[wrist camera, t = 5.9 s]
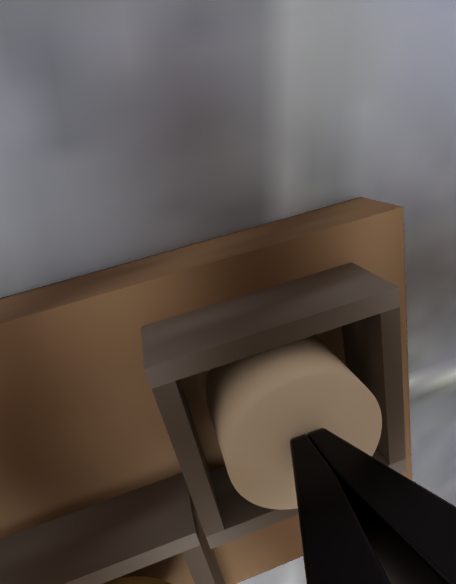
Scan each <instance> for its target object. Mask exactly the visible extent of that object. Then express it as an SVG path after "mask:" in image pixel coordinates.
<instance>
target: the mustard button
mask: <svg viewBox="0 0 456 584" xmlns="http://www.w3.org/2000/svg"><path fill="white" fill-rule="evenodd" d="M103 584H171V583H169V582H167V581H164V580H162V579H158V578H153V577H145V576H132V577H123V578H117V579H113V580H111V581H108V582H106V583H103Z"/></svg>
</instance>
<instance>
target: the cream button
mask: <svg viewBox="0 0 456 584" xmlns="http://www.w3.org/2000/svg"><path fill="white" fill-rule="evenodd" d="M205 394H206V402H207V407H208V410H209V413H210V417H211V420H212V423H213V426H214V429H215V433H216V436H217V439H218V442H219V446H220V449H221V452H222V455H223V459H224V462H225V465H226V468H227V472H228V475H229V478H230V480H231V483H232V484H233V486H234V488H235V489H236V490H237V492H238V493H239V494H240V495H241V496H242V497H244V498H245V499H246V500H248V501H249V502H251V503H253V504H255V505H258V506H261V507H264V508H269V509H278V510H286V509H296V508H298V506H297V498H296V490H295V482H294V473H293V465H292V457H291V449H290V440H291V439H292V438H295V437H298V436H300V435H303V434H305V435H307V434H308V433H309V432H311V431H314V430H317V429H319V428H325V429H327V430H328V431H330V432H332V433H333V434H335V435H337V436H338V437H340V438H342V439H343V440H345V441H347V442H348V443H350V444H352V445H353V446H355V447H357V448H358V449H360V450H362V451H363V452H365V453H367V454H368V455H370V456H373V454H374V452H375V450H376V448H377V445H378V443H379V439H380V436H381V430H382V415H381V410H380V407H379V404H378V402H377V400H376V398H375V396H374V395H373V394H372V393H371V391H370V390H369V389H368V388H367V387H366V386H365V385H364V384H363V383H362V382H361V381H360V380H359V379H358V378H357V377H356V376H355V375H354V374H353V373H352V372H351V371H350V370H349V369H348V368H347V367H346V366H345V365H344V364H343V363H342V362H341V361H340V360H339V359H338V358H337V357H336V356H335V355H334V354H333V352H332V351H331V350H330V349H329V348H328V347H327V346H326V345H325V344H324V343H323V342H322V341H321V340H320V339H319V338H318V337H316V336H315V335H313V336H310V337H307V338H304V339H301V340H298V341H295V342H292V343H289V344H286V345H283V346H280V347H277V348H274V349H271V350H268V351H265V352H262V353H259V354H256V355H253V356H250V357H247V358H244V359H241V360H238V361H235V362H232V363H228V364H225V365H222V366H219V367H216V368H213V369H211V370H210V372H209V375H208V378H207V382H206V390H205Z"/></svg>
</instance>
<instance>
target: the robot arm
mask: <svg viewBox="0 0 456 584" xmlns="http://www.w3.org/2000/svg"><path fill="white" fill-rule="evenodd" d="M290 449H291V457H292V465H293V473H294V482H295V490H296V498H297V506H298V514H299V523H300V531H301V539H302V547H303V556H304V564H305V572H306V580H307V584H456V507H455V506H453V505H452V504H450V503H448V502H447V501H445V500H443V499H442V498H440V497H438V496H437V495H435V494H433V493H432V492H430V491H428V490H427V489H425V488H423V487H422V486H420V485H418V484H417V483H415V482H413V481H412V480H410V479H408V478H407V477H405V476H403V475H402V474H400V473H398V472H397V471H395V470H393V469H392V468H390V467H388V466H387V465H385V464H383V463H382V462H380V461H378V460H377V459H375V458H373V457H372V456H370V455H368V454H367V453H365V452H363V451H362V450H360V449H358V448H357V447H355V446H353V445H352V444H350V443H348V442H347V441H345V440H343V439H342V438H340V437H338V436H337V435H335V434H333V433H332V432H330V431H328V430H327V429H325V428H319V429H317V430H314V431H311V432H309V433H308V434H307V435H305V434H303V435H300V436H298V437H295V438H292V439H291V440H290Z"/></svg>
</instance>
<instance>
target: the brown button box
mask: <svg viewBox="0 0 456 584" xmlns="http://www.w3.org/2000/svg"><path fill="white" fill-rule="evenodd" d="M313 335H315V336H316V337H318V338H319V339H320V340H321V341H322V342H323V343H324V344H325V345H326V346H327V347H328V348H329V349H330V350H331V351H332V352H333V354H334V355H335V356H336V357H337V358H338V359H339V360H340V361H341V362H342V363H343V364H344V365H345V366H346V367H347V368H348V369H349V370H350V371H351V372H352V373H353V374H354V375H355V376H356V377H357V378H358V379H359V380H360V381H361V382H362V383H363V384H364V385H365V386H366V387H367V388H368V389H369V390H370V391H371V393H372V394H373V395H374V396H375V398H376V400H377V402H378V404H379V407H380V410H381V415H382V430H381V436H380V439H379V443H378V445H377V448H376V450H375V452H374V454H373V456H372V457H373V458H375V459H377V460H378V461H380V462H382V463H383V464H385V465H387V466H388V467H390V468H392V469H393V470H395V471H397V472H398V473H400V474H402V475H403V476H405V477H407V478H408V479H410V480H412V470H411V439H410V409H409V378H408V347H407V316H406V286H405V255H404V224H403V207H401V206H397V205H393V204H388V203H384V202H380V201H375V200H371V199H367V198H362V197H360V198H357V199H353V200H350V201H346V202H343V203H339V204H336V205H332V206H328V207H325V208H321V209H318V210H314V211H311V212H307V213H304V214H300V215H297V216H293V217H289V218H286V219H282V220H279V221H275V222H272V223H268V224H265V225H261V226H257V227H254V228H250V229H247V230H243V231H240V232H236V233H233V234H229V235H225V236H222V237H218V238H215V239H211V240H208V241H204V242H201V243H197V244H194V245H190V246H186V247H183V248H179V249H176V250H172V251H169V252H165V253H162V254H158V255H154V256H151V257H147V258H144V259H140V260H137V261H133V262H130V263H126V264H122V265H119V266H115V267H112V268H108V269H105V270H101V271H98V272H94V273H91V274H87V275H83V276H80V277H76V278H73V279H69V280H66V281H62V282H59V283H55V284H51V285H48V286H44V287H41V288H37V289H34V290H30V291H27V292H23V293H19V294H16V295H12V296H9V297H5V298H2V299H0V584H103V583H106V582H108V581H111V580H113V579H117V578H123V577H132V576H145V577H153V578H158V579H162V580H164V581H167V582H169V583H171V584H236V583H239V582H241V581H244V580H246V579H248V578H251V577H253V576H256V575H258V574H260V573H263V572H265V571H268V570H270V569H273V568H275V567H277V566H280V565H282V564H285V563H287V562H289V561H292V560H294V559H297V558H299V557H301V556H303V547H302V539H301V531H300V523H299V514H298V508H296V509H286V510H278V509H269V508H264V507H261V506H258V505H255V504H253V503H251V502H249V501H248V500H246V499H245V498H244V497H242V496H241V495H240V494H239V493H238V492H237V490H236V489H235V488H234V486H233V484H232V483H231V480H230V478H229V475H228V472H227V468H226V465H225V462H224V459H223V455H222V452H221V449H220V446H219V442H218V439H217V436H216V433H215V429H214V426H213V423H212V420H211V417H210V413H209V410H208V407H207V402H206V394H205V390H206V382H207V378H208V375H209V372H210V370H211V369H213V368H216V367H219V366H222V365H225V364H228V363H232V362H235V361H238V360H241V359H244V358H247V357H250V356H253V355H256V354H259V353H262V352H265V351H268V350H271V349H274V348H277V347H280V346H283V345H286V344H289V343H292V342H295V341H298V340H301V339H304V338H307V337H310V336H313Z"/></svg>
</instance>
